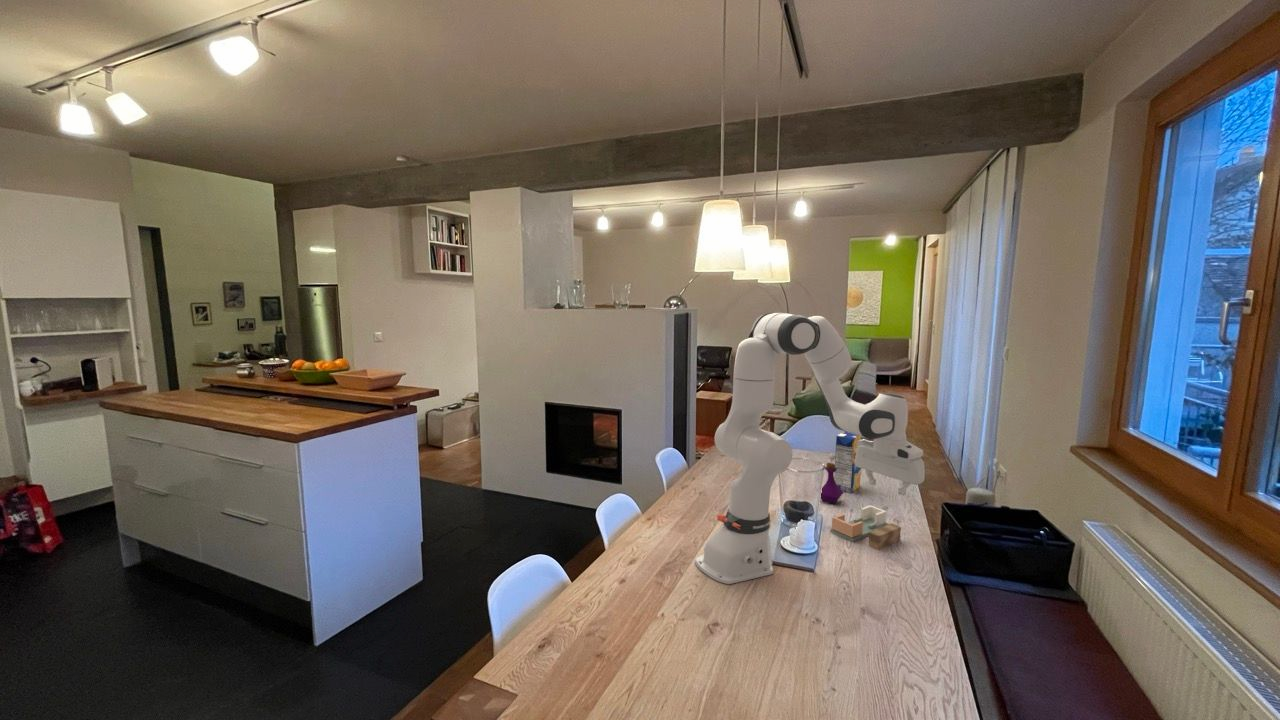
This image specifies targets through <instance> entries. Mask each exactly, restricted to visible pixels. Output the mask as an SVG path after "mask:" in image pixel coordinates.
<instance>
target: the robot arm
mask: <svg viewBox="0 0 1280 720" xmlns="http://www.w3.org/2000/svg"><path fill="white" fill-rule="evenodd" d="M737 346H738V347H737V350H736V355H735V358H734V359H735V360H734V366H733V378H732V379H733V383H732V384H733V385H732V399H731V407H730V410H729V411H728V415H727V417H726V419H725V421H723V422H722V423H721V424H719V426H718V427H717V428H716V431H715V434H714V437H713V438H714V445H715V447H716V448H717V449H718V451H720V452H721V453H722V454H723V455H724V456H725V457H727V458H729V459H731V460H734V461H736V462H738V463H740V464H742V471H741V474H740V476H739V477H736V478H735V479H733V480H732V481H731V483H730V484H729V499H728V501H729V502H728V508H727V511H726V513H725V514H723V513H718V515H717V517H716V519H717V521H719V522H721V523H723V524H722V525H721V526H720V528H718V530H717V531H716V532H715V533H713V535H712V536H710V538H709V539H708V540H707V541H706V543H705V546H704V552H703V554H700V555H699V556H698V557H696V558H695V561H694V562H695V563H694V564H695V565H696V567H697V568H698V570H700V571H701V572H702V573H704V574H705V575H707V576H708V577H709V578H711V579H713V580H715V581H717V582H719V583H723V584H725V585H731V584H735V583H740V582H744V581H748V580H752V579H756V578H760V577H761V578H762V577H767V576H770V575H773V574H774V567H773V559H772V554H771V541H770V535H769V528H770V524H771V514H770V512H769V511H770V496H771V489H772V486H773V483H774V481H775V479H776V478H777V477H778V476H779V475H780V474H782V473H783V472H785V471H786V470H787V469H789V467H790V465H791V463H792V461H793V448H792V446H791V444H790V443H789V441H787V440H786V439H785V438H783V437H782V436H780V435H778V434H777V433H775V432H772V431H769V430H766V429H763V428H761V427H760V423H761V419H762V417H763V415H764V414H766V413H768V412H769V411H770V410H771V409H772V408H773V406H774V399H775V398H774V397H775V396H774V395H775V376H776V375H775V374H776V373H775V371H776V370H775V366H776V361H777V359H778V357H779V355H780V354H784V355H785V354H786V355H787V354H788V355H792V356H798V355H804V357H805V359H806V361H807V362H808V364H809V365H810V368H811V369H812V372H813V377H814V379H815V381H816V383H817V386H818V388H819V391H820V392H821V395H822V396H823V399H824V401H825V403H826V406H827V410H828V415H829V416H828V417H829V420H830V422H831V425H832V426H833V427H834V428H835V429H837V430H840V431H843V432H845V431H847V432H850V433H852V434H855V435H857V436H860V437H863V439H862V440H859V441H858V443H857V453H856V458H855V464H856V466H857V467H859V468H861V470H865V475H866V477H867V478H868V485H870V486H875V485H877V478H875V477H874V475H873V473H876V474H879V475H882V476H885V477H888V478H892V479H895V480H899V481H902V483H901V485H903V486H900V487H898V489H897V491H898V492H897V494H899V495H901V496H906V494H907V489H909V487H910V485H915V486H917V485H920V484H922V483H924V481H925V473H926V471H925V470H926V469H925V468H926V467H925V461H924V460H923V459H922V457H923V455H924V450H923V449H922V448H920V447H919V446H916V445H915V444H913V443H911V442H909V441H908V440H907V434H906V429H907V426H908V419H909V408H908V407H909V406H908V401H907V399H906V398H905V397H904V396H902V395H899V394H895V393H889V392H879V393H878V396H877V397H876V398H875V399H873V400H871V401H870V402H868V403H865V404H864V403H861V402H858V401H855V400H853V399H852V398H850V397H848V396H847V394H846V392H845V390H844V387H843V385H842V383H841V381H840V378H842V377H844V375H845V374H847V373H848V372H849V370H850V368H851V365H852V361H853V360H852V357H851V354H850V351H849V349H848V347H847V345H846V343H845V342H844V339H842V337H841V336H840V334H839V333H838V331H837V330H836V328H835V326H833V325H832V324H831V322H830V321H829V320H828V319H827V318H825V317H824V316H821V315H813V316H808V317H806V316H803V315H800V314H791V313H787V312H768V313H764V314H761V315H760V316H759V317H758V318H756V319H755V320H754V322H753V325H752V327H751V330H750V332H749V334H748V337H747V338H746V339H743V340H741V341H740V343H739V344H738V345H737ZM860 441H862V442H860Z"/></svg>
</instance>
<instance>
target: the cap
mask: <svg viewBox="0 0 1280 720" xmlns="http://www.w3.org/2000/svg"><path fill="white" fill-rule="evenodd" d="M845 517H846V514H844V513H841V514H838V515H836V516H833V517H831V529H834V530H836V531H838V532H841V533H843V534H845V535H847V536H850V537H854V536H857V535H859V534H862V530H863V522H862V521H860V522H857V523H855V524H850V523H848V522H849V521H848V522H847V521H845V520H846V518H845Z"/></svg>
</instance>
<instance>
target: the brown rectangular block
mask: <svg viewBox="0 0 1280 720" xmlns="http://www.w3.org/2000/svg"><path fill="white" fill-rule="evenodd" d="M888 524H889V525H887V526H884V527H882V528H879V529H877V530H874V531H872V532H869V535H868V545H867V546H868V547H870V548H871V549H872V548H873V549H875V550H876V551H879V550H880V549H884V548H885V547H888V546H890V545H892V544H894V543H897V542H899V541H900V540H901V530H902V529H901V528H902V527H901V526H898V525H896V524H893V523H888Z"/></svg>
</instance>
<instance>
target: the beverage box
mask: <svg viewBox="0 0 1280 720" xmlns="http://www.w3.org/2000/svg"><path fill="white" fill-rule="evenodd" d="M862 439H864V438H863V437H860V436H857V435H855V434H852V433H850V432H847V431H843V432H841V433H839V434H836V441H835V453H834V455H837V456H836V458H835V459H834V465H835V468H836V469H837V470H836V471H835V472H834V474H833V475H834V480H835V483H836V484H837V485H838V487H839V488H840V489H841V490H842V491H843V493H848V494H853V493H854V491H856V490H857V489H858V488H859V487H861V476H862V468H859V467H857V466H856V464H855V458H856V453H857V443H858V441H859V440H862ZM860 442H862V441H860Z"/></svg>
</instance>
